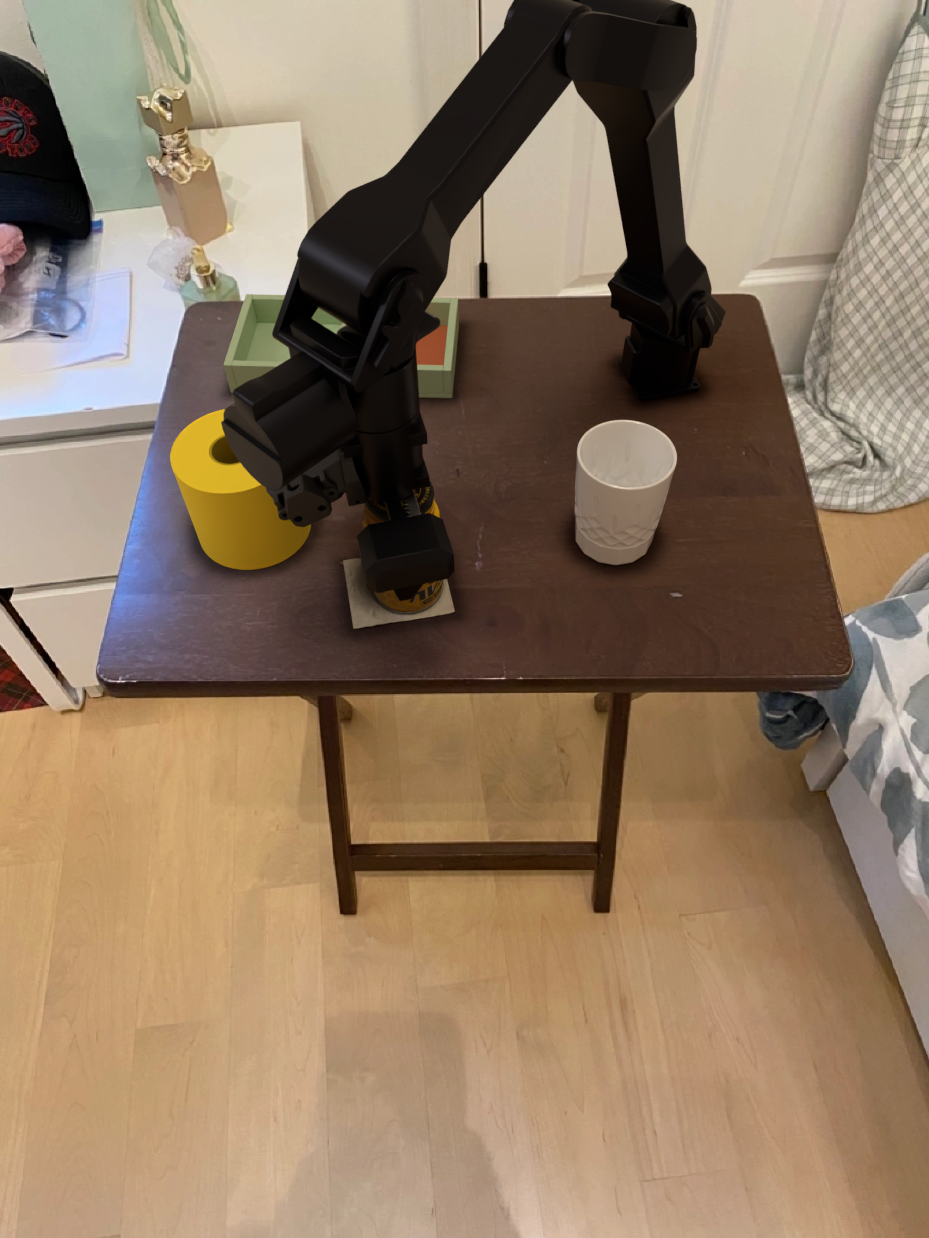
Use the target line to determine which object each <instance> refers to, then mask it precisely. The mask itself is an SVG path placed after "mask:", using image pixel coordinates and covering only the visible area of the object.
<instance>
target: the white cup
mask: <svg viewBox="0 0 929 1238" xmlns="http://www.w3.org/2000/svg"><path fill="white" fill-rule="evenodd" d="M677 462H678V453H677V449H676V447H675V445H674V443H673V441H672V440H671V439H670V438H669V437H668V435H666V434H665V433H664V432H663V431H661V430H660V429H658V428H656V427H655V426H653V425H651V424H649V423H648V424H647V423H645V422H642V421H637V420H633V419H632V420H630V419H614V420H609V421H605V422H602V423H599V424H596V425H594V426H593V427H591V428H589V429H588V430H587V431H586V432H584V434H583V435H582V436H581V437H580V440H579V442H578V444H577V448H576V465H575V482H574V494H575V495H574V516H575V521H574V533H575V534H574V536H575V542H576V543H577V545H578V547H579V548H580V550H581V551H582V552H583V554H584V555H585V556H587V557H589V558H591V559H592V560H594V561H596V562H597V563H601V564H607V565H613V566H618V565H625V564H630V563H634V562H636V561H637V560H638V559H640V558H641V557H643V556H645V555H646V554H647V552H648V550H649V548H650V546H651V544H652V543H653V539H654V536H655V532H656V530H657V528H658V526H659V522H660V520H661V516H662V513H663V511H664V508H665V504H666V500H667V498H668V494H669V490H670V486H671V484H672V480H673V476H674V473H675V469H676V467H677Z"/></svg>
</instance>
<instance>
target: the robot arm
mask: <svg viewBox="0 0 929 1238" xmlns="http://www.w3.org/2000/svg"><path fill="white" fill-rule="evenodd" d="M697 32H698V27H697V22H696V15H695V13H694V10H693V8H692V7H690V6H688V5H686V4H684V3H682V2H677V1H675V0H513V1H512V2H511V4H510V6H509V7H508V9H507V13H506V15H505V18H504V22H503V27H502V29H501V30H500V31H499V33H498V34H497V35H496V37H495V38H494V39H493V40H492V42H491V43H490V44H489V45H488V47H487V48H486V49H485V51H484V52H483V53H482V54H481V56H480V57H479V58H478V60H477V61H476V62H475V63H474V65H473V66H472V67H471V68H470V70H469V71H468V72H467V74H466V75H465V76H464V77H463V79H461V82H460V83H458V85H457V87H456V88H455V89H454V90H453V92H452V93H451V94H450V95H449V97H448V98H447V99H446V100H445V102H444V103H443V104H442V106H441V107H440V108H439V110H438V111H437V112H435V113H436V114H435V115H434V116H433V117H432V119H430V121H429V122H428V123H427V124H426V126H425V127H424V129H423V130H422V131H421V133H419V135H418V136H417V137H416V139H414V141H413V143H412V144H411V145H410V147H409V148H408V149H407V151H405V153H404V154H403V156H402V157H401V158H400V159H399V161H398V162H397V163H396V164H394V166H393V167H392V168H391V169H390V170H389V171H388V172H387V173H385V174H384V175H383V176H380V177H378V178H376V179H373V180H371V181H369V182H366V183H363V184H362V185H359V186H357V187H355V188H352V189H349V190H348V191H346V192H345V193H344V194H343V195H342V196H341V197H340V198H339V199H338V200H337V201H336V202H335V203H334V204H332V206H331V207H329V209H328V210H327V211H325V212H324V214H322V215H321V217H319V219H317V220H316V221H315V222H314V223H313V224H312V226H311V227H310V228H309V229H308V230H307V232H306V233H305V236H304V237H303V238H302V240H301V242H300V245H299V247H298V249H297V254H296V256H297V260H296V262H295V264H294V265H295V266H294V268H293V271H292V274H291V278H290V280H289V283H288V285H287V289H286V291H285V294H284V295H285V297H284V300H283V303H282V306H281V309H280V312H279V314H278V317H277V320H276V323H275V326H274V329H273V332H272V336H273V338H274V339H276V340H278V341H279V342H281V343H282V344H284V345H285V346H287V347H288V348H289V353H290V359H288V360H286V361H285V362H283V363H282V364H280V365H278V366H277V367H275V368H273V369H272V370H270V371H268V372H267V373H265V374H264V375H262V376H260V377H257V378H254V379H251V380H249V381H247V382H245V383H244V384H242V385H240V386H239V387H237V388H235V389H234V391H233V393H231V394H232V398H233V403H232V404H230V405H229V406H227V407H226V408H224V409H225V411H224V421H222V422H221V424H222V428H223V432H224V434H225V437H226V439H227V441H228V443H229V445H230V447H231V449H232V451H233V452H234V454H235V456H236V457H237V459H238V460H239V461H240V463H241V464H242V465H243V467H244V468H245V469H246V470H247V471H248V473H249V474H250V475H251V476H252V477H253V478H254V479H255V480H256V481H258V482H259V483H260V484H261V485H263V486H265V487H266V491H267V492H268V494H269V495H270V496H271V497H272V498H273V501H274V504H275V505H276V506H277V510H278V516H279V518H280V519H281V520H289V519H290V520H291V522H292V523H293V524H294V525H295V526H298V527H306V526H308V525H310V524H311V525H313V524H315V523H317V522H319V521H321V520H323V519H326V518H328V517H329V516H331V514H332V512H333V506H332V504H333V503H335V502H336V501H339V500H340V499H341V498H342V497H343V495H344V494H345V496H346V502H347V505H348V507H355V506H359V505H360V506H361V505H365V503H366V498H369V500H371V501H375V502H384V503H385V507H386V510H387V514H388V518H389V521H384V522H379V523H374V524H369V525H367V526H366V527H365V528H364V529H363V528H362V530H361V531H360V532H359V533H357V534H356V543H357V547H358V553H359V558H361V563H362V567H363V571H364V576H365V580H366V584H367V588H368V589H369V590H372V591H374V592H376V593H380V592H385V591H390V590H393V591H394V592H395V594H396V596H397V598H398V600H399V601H404V600H409V599H412V598H413V597H414V596H415V595H416V593H417V592H418V591H419V589H420V588H421V587H422V586H423V584H426V583H431V582H436V581H441V580H446V579H447V580H449V579H450V578H451V577H452V575H453V574H454V573H455V571H456V569H455V553H454V549H453V546H452V543H451V540H450V537H449V534H448V531H447V528H446V524H445V521H444V519H443V518H441V517H440V518H439V517H437V516H435V515H433V514H431V513H427V514H421V513H420V509H419V506H418V503H417V499H416V496H415V493H414V489H420V488H425V487H430V481H431V479H430V474H429V470H428V467H427V464H426V462H425V457H424V449H423V446H424V445H428V432H427V429H426V426H425V422H424V420H423V416H422V414H421V407H420V397H419V387H418V372H417V356H416V343H417V342H418V341H419V340H421V339H422V338H424V337H425V336H427V335H428V334H430V333H431V332H433V331H434V330H436V329H437V328H438V327H439V326H440V319H439V318H438V317H436V316H434V315H432V314H431V313H429V312H427V311H426V309H427V307H428V306H429V304H430V303H431V301H432V299H433V298H435V296H436V294H437V293H438V291H439V290H440V288H441V287H442V285H443V283H444V281H445V280H446V279H447V276H448V270H449V262H450V255H451V254H450V252H451V244H452V240H453V239H454V238H453V237H454V236H455V234H456V233H457V232H458V230H459V228H460V226H461V224H462V223H463V222H464V220H465V219H466V218H467V217H468V215H470V213H471V211H472V210H473V209H474V208H475V207H476V205H477V204H478V203H479V201H480V200H481V198H483V196H484V195H485V193H486V192H487V191H488V189H489V188H490V187H491V186H492V184H493V183H494V182H495V181H496V179H497V178H498V177H499V175H500V174H501V173H502V171H503V170H504V169H505V168H506V166H507V165H508V164H509V162H510V161H511V160H512V159H513V158H514V156H515V155H516V154H517V152H518V151H519V150H520V148H521V147H522V146H523V144H524V143H525V142H526V141H527V139H528V138H529V137H530V136H531V134H532V132H533V131H535V129H536V128H537V127H538V126H539V124H540V123H541V122H542V120H543V119H544V118H545V116H546V115H547V113H548V112H549V111H550V110H551V108H553V106H554V105H555V103H556V102H558V100H559V98H560V97H561V96H562V95H563V93H564V92H565V90H567V88H568V87H569V85H570V84H571V83H573V85H574V89H575V91H576V93H577V94H578V95H579V97H580V99H582V100H583V102H584V103H585V104H586V106H587V107H588V109H590V111H592V113H593V114H594V115H595V116H596V118H597V119H598V120H599V121H600V122H601V124H602V125H603V127H604V131H605V134H606V135H605V136H606V141H607V147H608V153H609V159H610V162H611V169H612V170H611V171H612V173H613V174H612V175H613V181H614V186H615V192H616V197H617V204H618V208H619V209H618V210H619V215H620V220H621V226H622V232H623V238H624V242H625V248H626V258H625V259H624V260H623V262H622V263H621V264H620V265H619V267H618V268H617V269H616V270H615V272H614V274H613V276H612V278H611V279H610V280H609V281H608V282H607V284H606V285H607V287H608V289H609V292H610V297H611V298H610V308H611V309H613V310H615V311H617V313H618V317H619V318H620V319H622V320H626V321H627V322H630V323H631V326H630V333H629V335H626V336H625V338H624V342H623V349H622V356H620V357H619V359H618V365H619V366H620V371H621V373H622V375H623V378H624V379H625V381H626V383H627V384H628V385H629V386H630V387H631V389H632V391H633V392H634V395H635V397H636V398H637V399H638V400H639V401H641V402H644V401H650V400H656V399H661V398H666V397H673V396H677V395H682V394H683V395H684V394H689V393H693V392H698V391H699V390H700V388H701V383H700V382H699V380H698V379H697V377H696V375H695V372H696V368H697V364H698V360H699V355H700V351H701V349H709V348H710V347H711V346H713V342H714V338H715V335H716V334H718V332H719V330H720V328H721V327H722V324H723V321H724V318H725V315H726V309H724V307H722V306H721V304H720V303H719V302H718V301H717V300H716V299H715V298H714V297H713V295H712V291H713V290H712V288H713V287H712V283H711V278H710V275H709V272H708V269H707V266H706V264H705V263H704V262H703V261H702V260H701V258H700V257H699V256H698V255H697V253H696V252H695V251H694V250H693V249H692V248H691V246H690V245H689V244H688V242H687V238H686V237H687V236H686V227H685V226H686V225H685V214H684V205H683V204H684V203H683V191H682V180H681V170H680V160H679V147H678V138H677V137H678V136H677V126H676V113H675V108H676V105H677V103H678V102H679V100H680V99H681V97H682V96H683V94H684V92H685V91H686V90H687V88H688V86H689V85H690V84H691V82H692V81H693V80H694V77H695V72H696V55H697V50H698V49H697V48H698V36H697V35H698V33H697ZM318 308H320V309H321V310H323V311H324V312H326V313H328V314H329V315H331V316H333V317H334V318H336V319H337V320H339V321H341V322H342V323H344V324H346V325H345V326H344V327H342V328H340V329H339V330H338V331H337V334H336V333H334V332H332V331H331V330H329V329H328V328H326V327H324V326H323V325H321V324H320V323H318V322H316V321H315V320H313V319H312V317H313V315H314V313H315V312H316V310H317V309H318ZM400 499H402V501H403V504H404V508H405V512H406V516H407V517H406V518H405V515H404V512H403V508H402V505H401V501H400Z"/></svg>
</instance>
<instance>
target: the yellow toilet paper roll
mask: <svg viewBox="0 0 929 1238" xmlns="http://www.w3.org/2000/svg"><path fill="white" fill-rule="evenodd" d="M225 409H226V408H223V409H219V410H215V411H213V412H210V413H207V414H204V415H203V416H200V417H198V418H196V419H195V420H193V421H192V422H191V423H189V424H188V425H187V426H186V427H185V428H184V429H183V430H181V432H180V433H179V434H178V435H177V437H176V438H175V439H174V441H173V443H172V446H171V449H170V453H169V454H170V455H169V461H170V466H171V469H172V472H173V474H174V476H175V479H176V482H177V484H178V488H179V490H180V493H181V496H182V498H183V500H184V504H185V507H186V509H187V512H188V514H189V516H190V520H191V522H192V525H193V528H194V530H195V533H196V535H197V538H198V541H199V544H200V546H201V549H202V551H204V553H205V554H206V556H208V557H209V558H210V559H211V560H212V561H213V562H215V563H216V564H219V565H221V566H223V567H226V568H229V569H234V570H239V571H253V570H260V569H261V570H262V569H266V568H269V567H272V566H275V565H278V564H280V563H282V562H284V561H286V560H287V559H289V558H291V557H292V556H293V555H294V554H296V553H297V552H298V551H299V550H300V549H301V548H302V547H303V545H304V544H305V542H306V541H307V539H308V538H309V535H310V532H311V529H312V524H310V525H308V526H306V527H298V526H295V525H294V524H293V523H292V522H291V520H290V519H289V520H281V519H280V518H279V516H278V510H277V506H276V505H275V504H274V501H273V498H272V497H271V496H270V495H269V494H268V492H267V491H266V487H265V486H263V485H261V484H260V483H259V482H258V481H256V480H255V479H254V478H253V477H252V476H251V475H250V474H249V473H248V471H247V470H246V469H245V468H244V467H243V465H242V464H241V463H240V461H239V460H238V459H237V457H236V456H235V454H234V452H233V451H232V449H231V447H230V445H229V443H228V441H227V439H226V437H225V434H224V432H223V428H222V424H221V422H222V421H224V411H225Z"/></svg>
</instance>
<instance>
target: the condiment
mask: <svg viewBox="0 0 929 1238" xmlns="http://www.w3.org/2000/svg"><path fill="white" fill-rule="evenodd" d="M414 493H415V496H416V499H417V503H418V506H419V509H420V513H421V514H427V513H431V514H433V515H435V516H437V517H439V518H441V514H440V513H441V511H440V508H439V506H438V504H437V502H436V500H435V490H434V486H433V483H432V482H431V480H430V487H425V488H420V489H414ZM400 501H401V505H402V508H403V512H404V515H405V518H406V517H407V516H406V512H405V508H404V504H403V501H402V499H400ZM384 521H389V518H388V514H387V510H386V507H385V503H384V502H375V501H371V500H369V498H366V503H365V504H364V509H363V512H362V530H363V529H364V528H365V527H366V526H367V525H369V524H374V523H379V522H384ZM342 561H343V562H342V564H343V568H344V569H343V570H344V577H345V583H346V589H347V596H348V602H349V608H350V615H351V621H352V627H353V630H355V629H356V630H357V629H361V628H366V627H374V626H377V625H378V626H379V625H386V624H390V623H399V622H407V621H414V620H418V619H425V618H430V617H431V618H432V617H436V616H444V615H449V614H452V613H455V612H456V611H455V606H454V603H453V602H454V601H453V598H452V595H451V590H450V586H449V582H448V579H446V580H441V581H436V582H431V583H426V584H423V586H422V587H421V588H420V589H419V591H418V592H417V593H416V595H415V596H414V597H413V598H412V599H409V600H404V601H399V600H398V598H397V596H396V594H395V592H394V591H393V590H390V591H385V592H380V593H376V592H374V591H372V590H369V589H368V588H367V584H366V580H365V576H364V571H363V567H362V563H361V558H360V557H358V558H356V557H355V558H350V559H345V560H342Z"/></svg>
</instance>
